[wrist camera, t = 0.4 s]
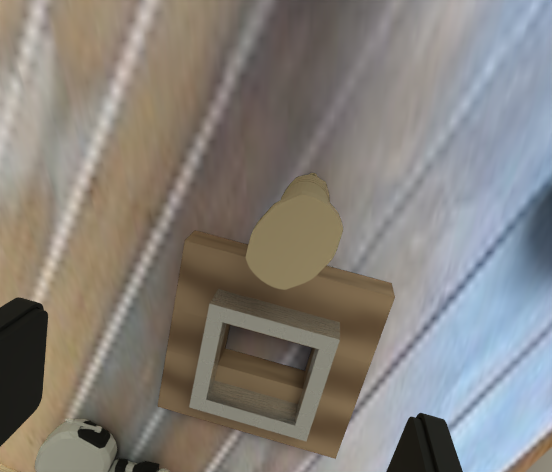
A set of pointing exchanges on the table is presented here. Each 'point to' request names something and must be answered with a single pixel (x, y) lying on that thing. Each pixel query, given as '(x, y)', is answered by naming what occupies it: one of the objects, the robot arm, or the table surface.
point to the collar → (252, 404)
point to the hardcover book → (5, 468)
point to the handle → (295, 235)
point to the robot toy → (85, 451)
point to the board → (262, 373)
